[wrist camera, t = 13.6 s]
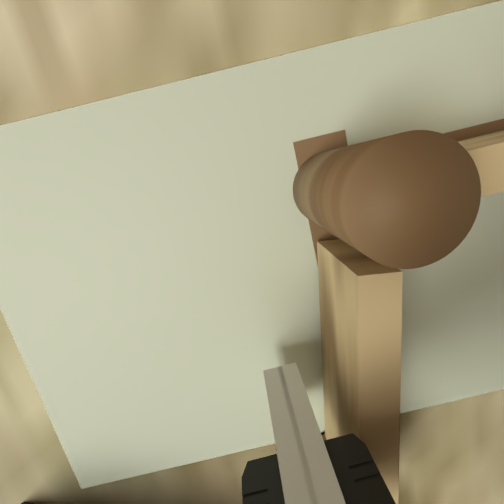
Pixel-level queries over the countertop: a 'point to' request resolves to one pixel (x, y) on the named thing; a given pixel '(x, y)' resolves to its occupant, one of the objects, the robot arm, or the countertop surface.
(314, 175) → the fence fixed
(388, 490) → the robot arm
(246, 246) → the card
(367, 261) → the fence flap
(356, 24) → the countertop surface
